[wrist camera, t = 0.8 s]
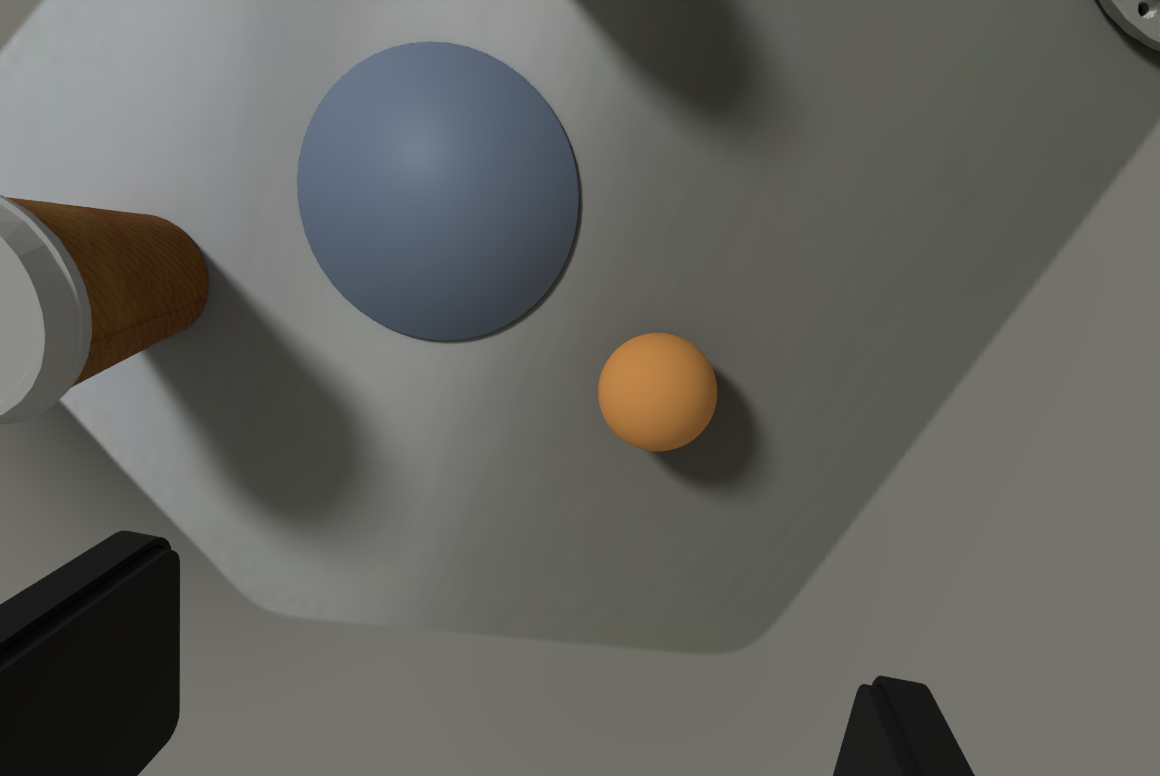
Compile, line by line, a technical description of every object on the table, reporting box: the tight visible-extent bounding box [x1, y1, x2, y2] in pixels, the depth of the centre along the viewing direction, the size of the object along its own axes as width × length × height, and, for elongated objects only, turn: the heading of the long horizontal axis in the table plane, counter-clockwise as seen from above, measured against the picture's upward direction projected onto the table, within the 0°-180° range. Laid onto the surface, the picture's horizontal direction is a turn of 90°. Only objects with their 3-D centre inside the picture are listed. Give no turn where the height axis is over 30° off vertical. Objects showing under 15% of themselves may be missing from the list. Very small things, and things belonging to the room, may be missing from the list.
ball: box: [598, 333, 717, 451], centre depth 35 cm, size 6×6×6 cm
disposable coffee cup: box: [0, 195, 208, 424], centre depth 34 cm, size 10×10×12 cm
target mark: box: [297, 42, 579, 340], centre depth 37 cm, size 14×14×1 cm
